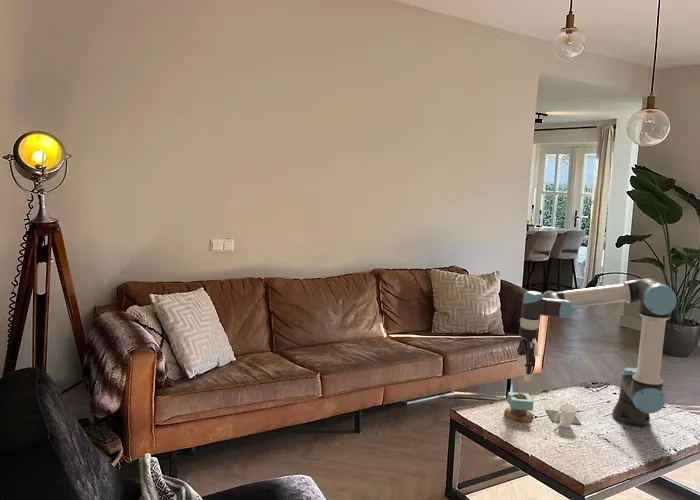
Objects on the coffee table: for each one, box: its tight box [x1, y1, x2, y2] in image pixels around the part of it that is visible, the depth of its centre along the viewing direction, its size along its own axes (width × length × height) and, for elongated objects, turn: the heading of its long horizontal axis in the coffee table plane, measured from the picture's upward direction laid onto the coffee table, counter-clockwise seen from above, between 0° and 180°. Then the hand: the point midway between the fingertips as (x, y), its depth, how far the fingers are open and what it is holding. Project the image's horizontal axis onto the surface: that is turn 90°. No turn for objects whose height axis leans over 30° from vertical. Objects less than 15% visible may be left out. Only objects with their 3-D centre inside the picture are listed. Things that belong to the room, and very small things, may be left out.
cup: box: [554, 403, 578, 428], centre depth 249 cm, size 7×10×8 cm
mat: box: [545, 409, 582, 426], centre depth 258 cm, size 12×12×1 cm
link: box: [506, 391, 534, 412], centre depth 255 cm, size 9×9×4 cm
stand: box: [503, 392, 534, 423], centre depth 256 cm, size 12×12×10 cm
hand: (523, 375), depth 253 cm, fingers open, 13 cm apart
